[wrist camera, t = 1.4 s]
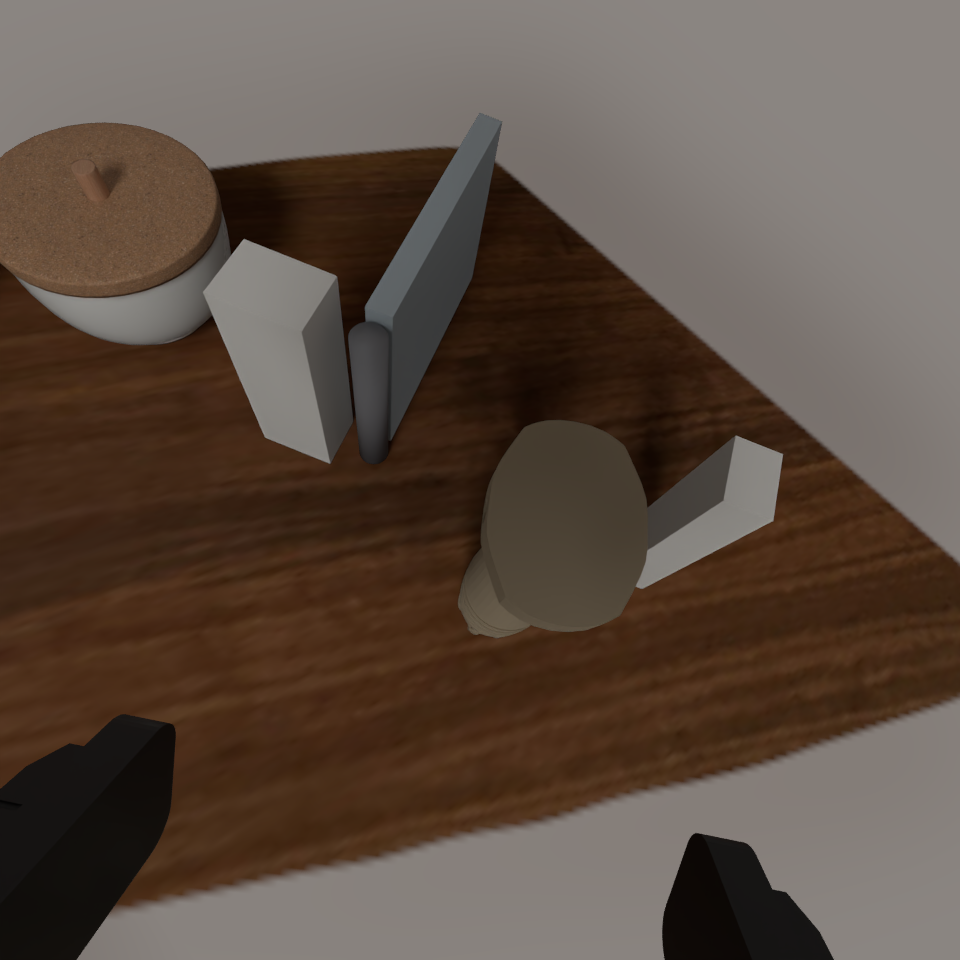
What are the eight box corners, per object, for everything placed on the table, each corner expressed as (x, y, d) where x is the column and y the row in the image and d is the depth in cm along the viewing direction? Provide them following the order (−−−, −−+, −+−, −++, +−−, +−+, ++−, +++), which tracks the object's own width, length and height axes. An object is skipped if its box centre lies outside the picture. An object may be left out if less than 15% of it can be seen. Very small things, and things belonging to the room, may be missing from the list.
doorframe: (265, 437, 32) (202, 292, 21) (290, 396, 34) (243, 238, 23) (641, 588, 32) (773, 520, 21) (653, 541, 33) (782, 454, 22)
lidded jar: (246, 233, 38) (205, 90, 29) (256, 370, 34) (211, 251, 25) (64, 239, 35) (-38, 86, 27) (52, 386, 32) (-72, 263, 23)
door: (381, 468, 32) (378, 353, 22) (354, 457, 32) (340, 338, 22) (474, 279, 38) (506, 123, 28) (452, 270, 38) (476, 111, 28)
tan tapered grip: (536, 558, 32) (648, 435, 18) (525, 677, 29) (646, 639, 16) (451, 543, 32) (501, 407, 18) (433, 664, 29) (474, 611, 15)
